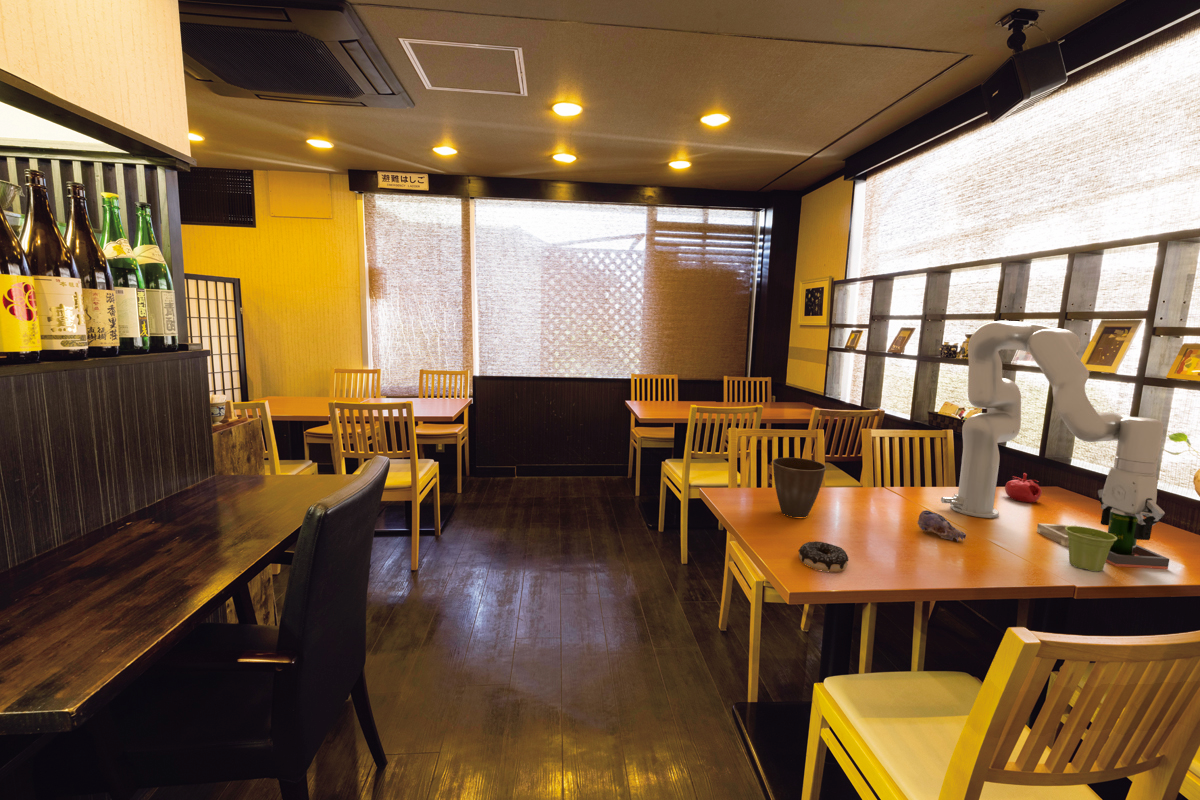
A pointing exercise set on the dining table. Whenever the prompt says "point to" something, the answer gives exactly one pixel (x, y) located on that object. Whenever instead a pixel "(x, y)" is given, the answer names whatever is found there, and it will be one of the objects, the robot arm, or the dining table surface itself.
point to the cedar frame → (1054, 532)
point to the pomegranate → (1023, 490)
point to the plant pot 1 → (797, 484)
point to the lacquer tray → (1139, 559)
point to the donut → (823, 556)
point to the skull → (939, 525)
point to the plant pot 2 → (1088, 547)
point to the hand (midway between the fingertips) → (1124, 531)
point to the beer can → (1122, 532)
